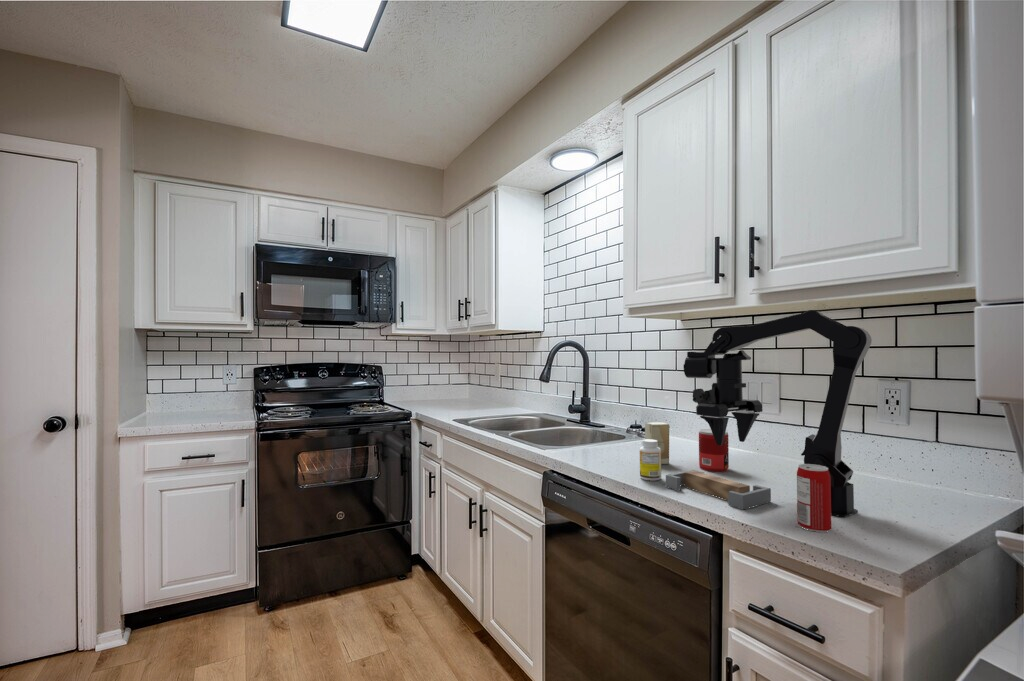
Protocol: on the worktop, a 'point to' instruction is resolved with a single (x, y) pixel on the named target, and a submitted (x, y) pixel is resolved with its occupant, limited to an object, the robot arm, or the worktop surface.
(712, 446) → the canned food
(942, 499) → the worktop surface
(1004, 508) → the worktop surface
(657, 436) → the skincare box
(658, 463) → the supplement bottle
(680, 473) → the end cap
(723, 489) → the slat
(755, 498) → the end cap
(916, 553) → the worktop surface
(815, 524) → the soda can
